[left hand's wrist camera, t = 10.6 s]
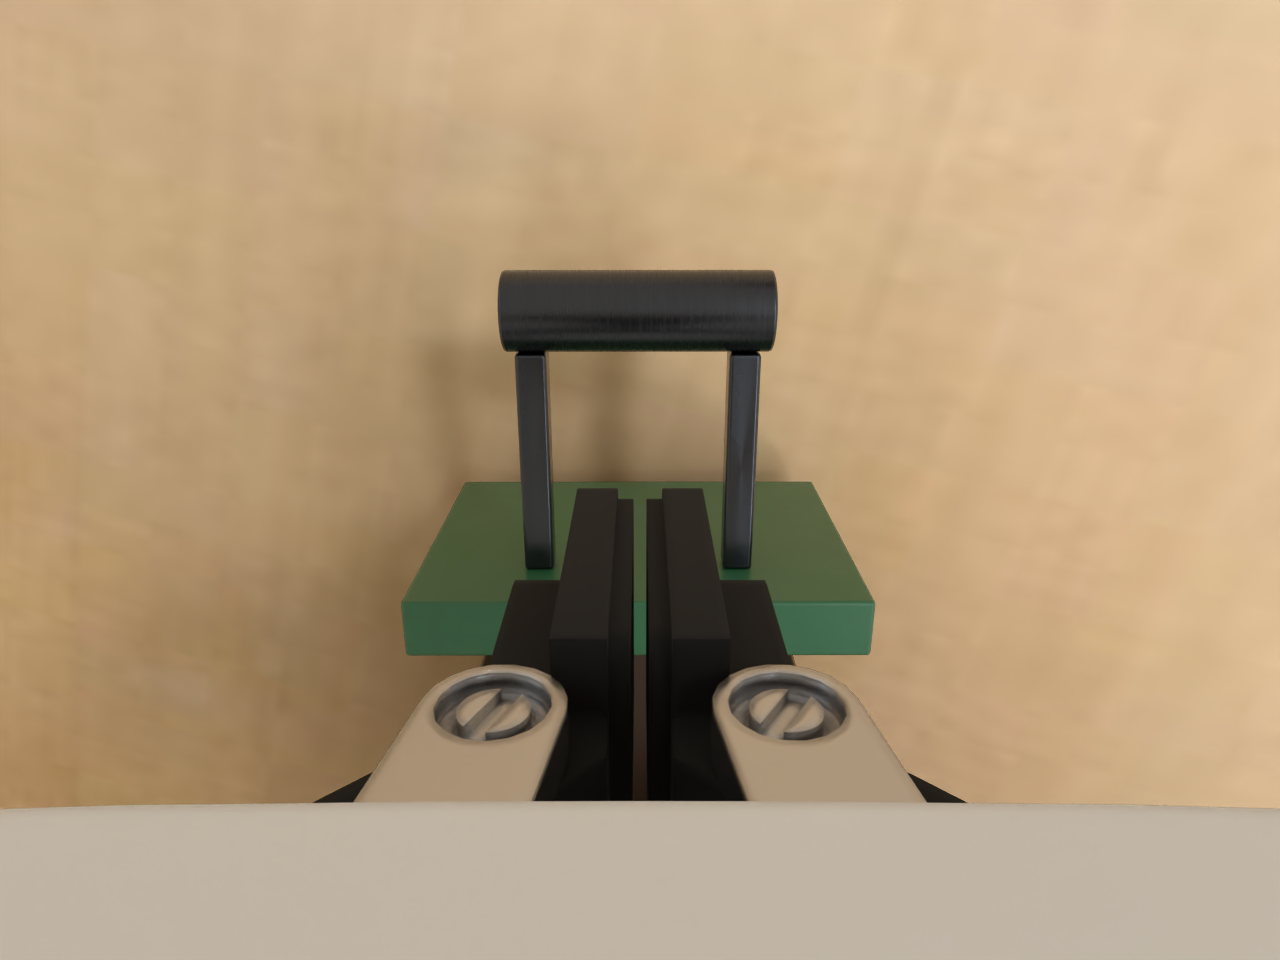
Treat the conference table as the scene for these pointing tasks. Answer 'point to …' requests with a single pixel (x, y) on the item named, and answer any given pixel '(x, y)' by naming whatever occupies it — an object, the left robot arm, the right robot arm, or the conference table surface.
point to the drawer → (542, 509)
